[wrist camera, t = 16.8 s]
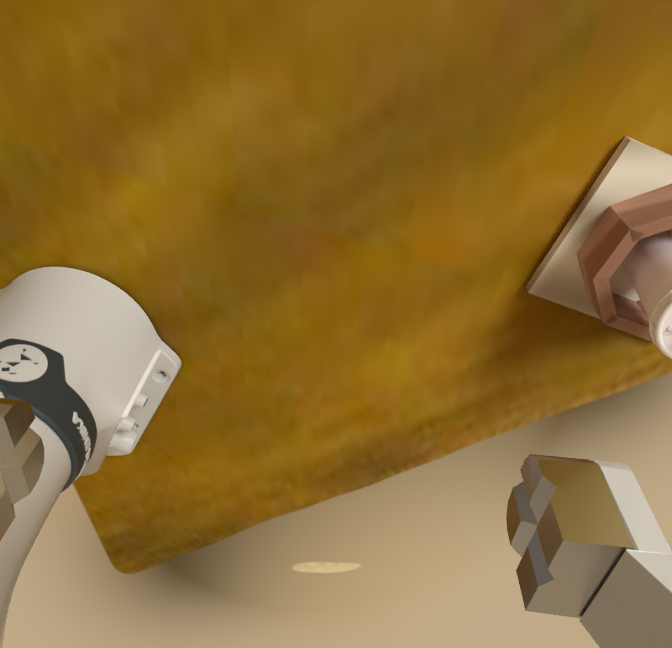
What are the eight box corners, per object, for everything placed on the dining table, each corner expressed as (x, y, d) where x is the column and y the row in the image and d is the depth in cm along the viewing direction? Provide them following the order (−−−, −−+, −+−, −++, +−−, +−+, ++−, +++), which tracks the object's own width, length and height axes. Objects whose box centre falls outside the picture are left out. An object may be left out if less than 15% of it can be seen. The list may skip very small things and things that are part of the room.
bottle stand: (661, 336, 47) (688, 373, 43) (525, 286, 45) (539, 320, 41) (780, 201, 40) (826, 231, 36) (625, 135, 38) (654, 159, 34)
